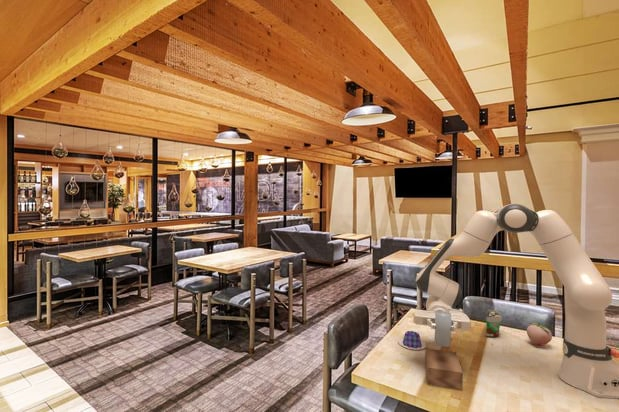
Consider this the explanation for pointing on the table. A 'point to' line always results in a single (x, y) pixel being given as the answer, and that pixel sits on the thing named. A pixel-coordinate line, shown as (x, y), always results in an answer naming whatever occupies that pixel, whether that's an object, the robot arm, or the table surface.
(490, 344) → the table surface
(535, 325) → the decorative fruit
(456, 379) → the walnut block
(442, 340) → the metal cylinder
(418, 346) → the pudding
